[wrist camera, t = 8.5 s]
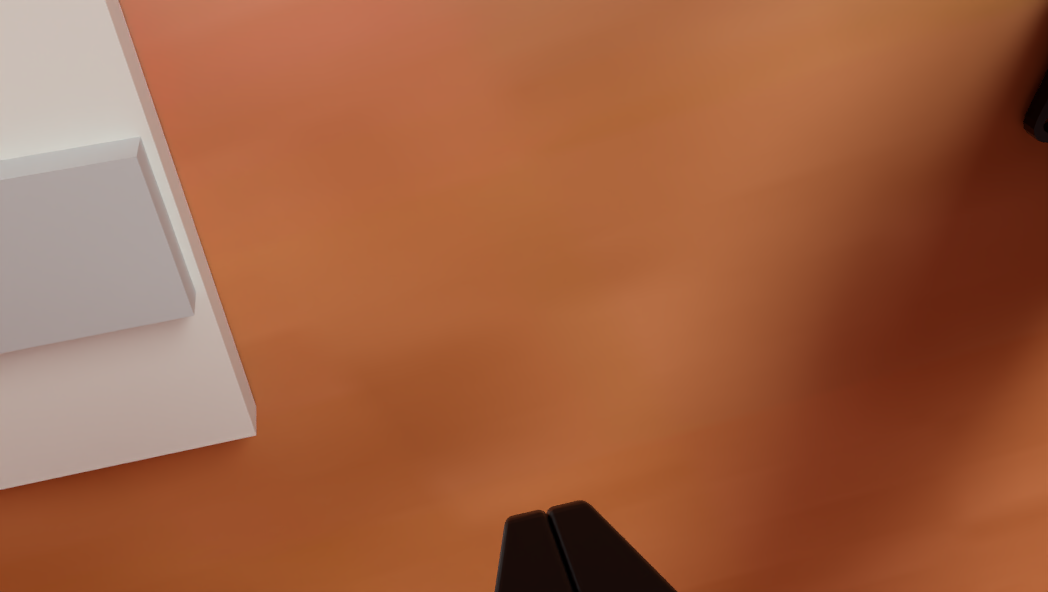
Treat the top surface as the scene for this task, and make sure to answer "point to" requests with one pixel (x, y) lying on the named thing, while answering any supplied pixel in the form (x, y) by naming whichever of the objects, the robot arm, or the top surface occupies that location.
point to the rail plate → (99, 261)
